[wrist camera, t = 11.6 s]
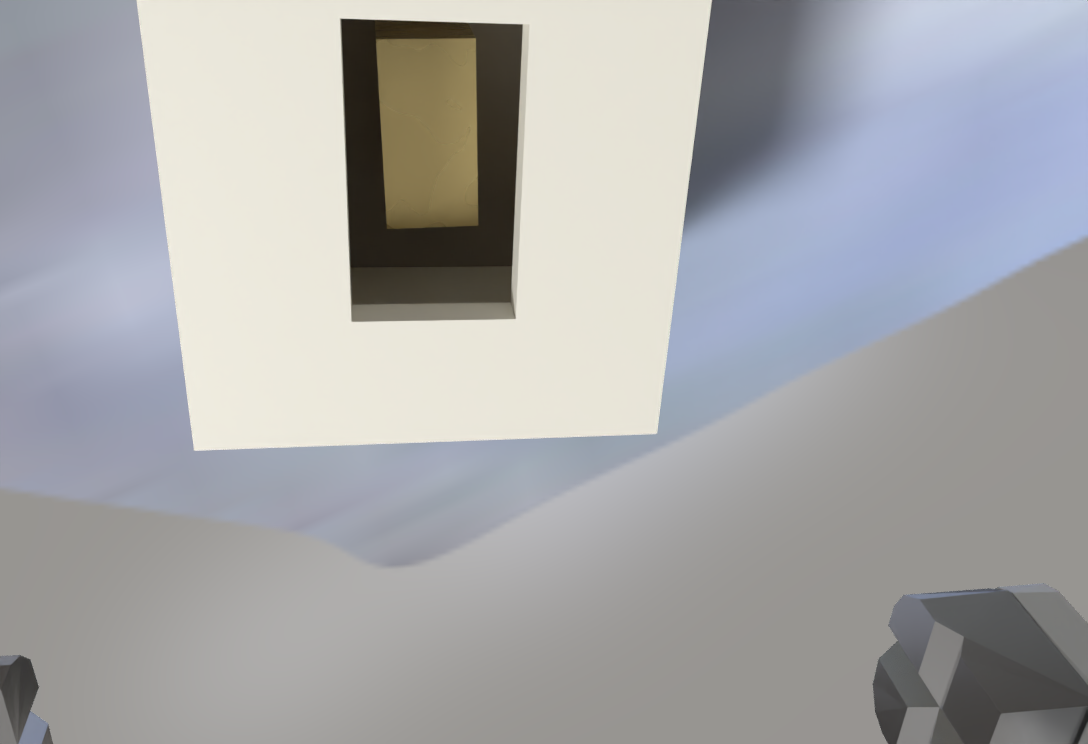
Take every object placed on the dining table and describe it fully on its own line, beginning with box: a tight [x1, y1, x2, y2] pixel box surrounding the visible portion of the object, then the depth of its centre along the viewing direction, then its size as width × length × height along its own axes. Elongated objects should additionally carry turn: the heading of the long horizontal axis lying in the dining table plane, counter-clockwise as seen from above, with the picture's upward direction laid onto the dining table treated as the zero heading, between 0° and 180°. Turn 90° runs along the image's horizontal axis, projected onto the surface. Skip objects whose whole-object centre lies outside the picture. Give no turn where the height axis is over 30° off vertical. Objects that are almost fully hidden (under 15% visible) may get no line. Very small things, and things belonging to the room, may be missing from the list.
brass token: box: [375, 20, 478, 229], centre depth 29 cm, size 5×2×5 cm, turn 179°
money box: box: [137, 0, 712, 451], centre depth 27 cm, size 14×12×10 cm
